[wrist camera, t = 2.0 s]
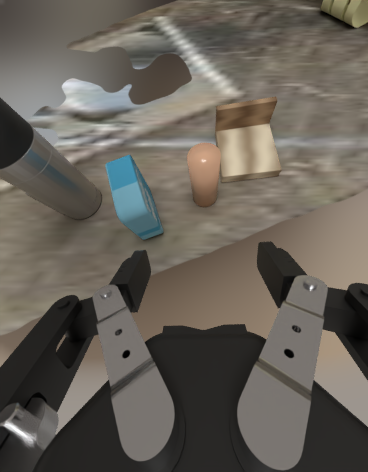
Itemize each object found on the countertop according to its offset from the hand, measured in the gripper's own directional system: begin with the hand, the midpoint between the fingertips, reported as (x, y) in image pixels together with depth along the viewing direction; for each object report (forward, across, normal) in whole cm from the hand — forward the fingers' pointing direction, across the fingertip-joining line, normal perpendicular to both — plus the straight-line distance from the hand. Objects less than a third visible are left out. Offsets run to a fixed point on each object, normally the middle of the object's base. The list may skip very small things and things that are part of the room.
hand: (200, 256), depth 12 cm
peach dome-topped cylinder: (+28, -1, +3) cm, 28 cm away
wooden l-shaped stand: (+35, -11, -4) cm, 37 cm away
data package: (+26, +12, +5) cm, 29 cm away
